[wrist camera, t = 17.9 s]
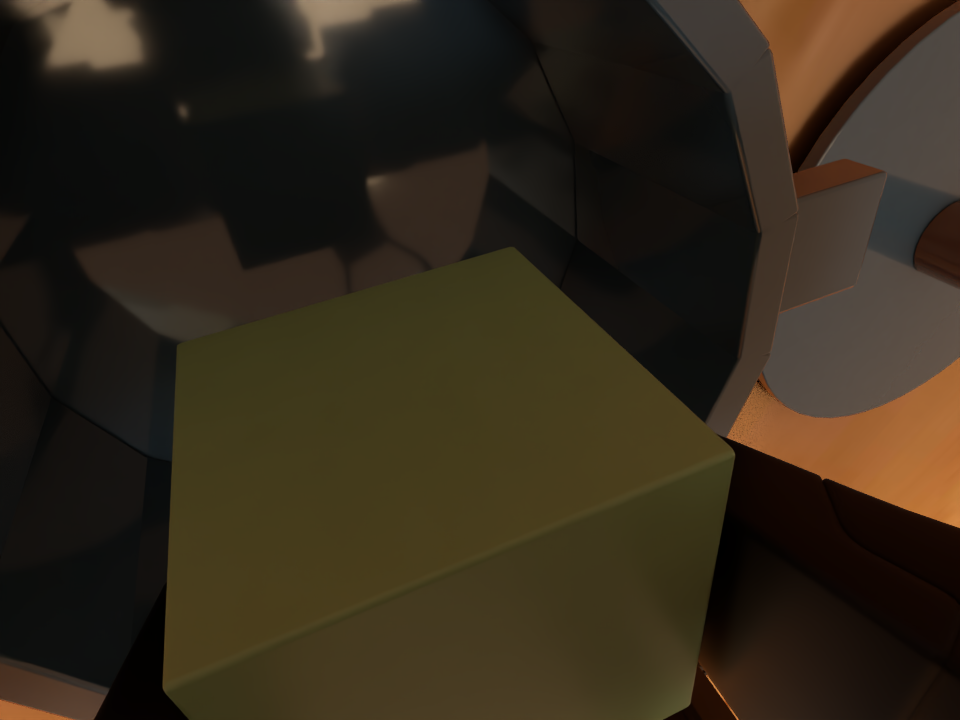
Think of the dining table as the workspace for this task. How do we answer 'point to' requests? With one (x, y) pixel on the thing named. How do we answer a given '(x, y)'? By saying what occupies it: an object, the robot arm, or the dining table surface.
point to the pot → (354, 231)
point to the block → (436, 512)
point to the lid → (887, 241)
